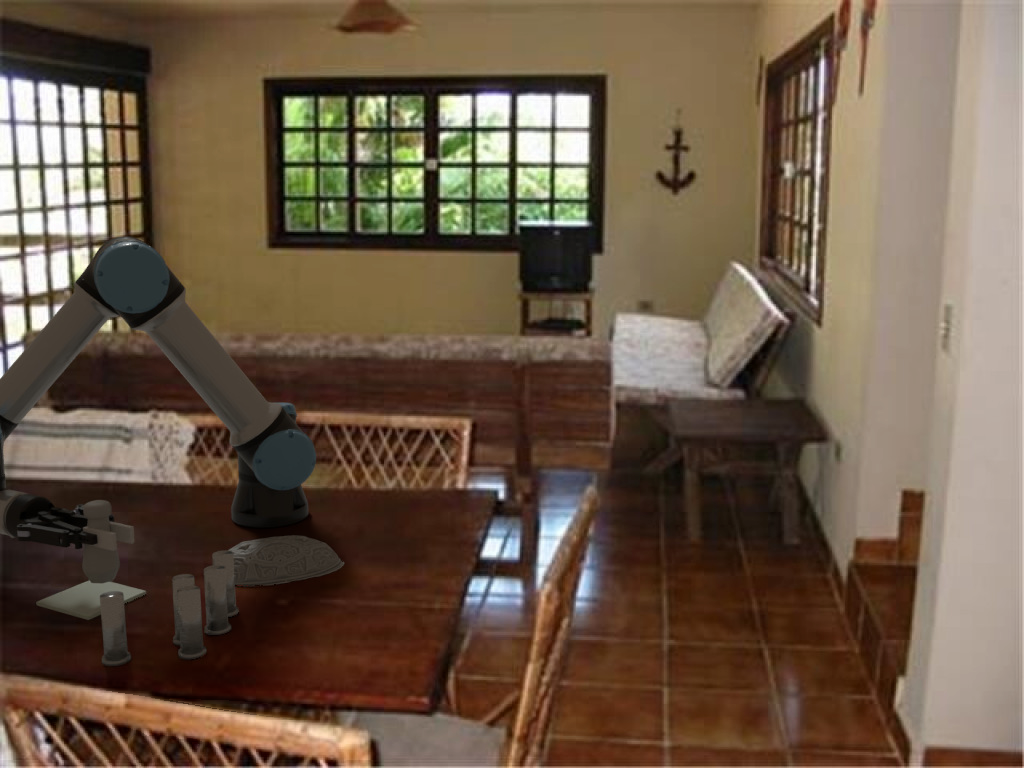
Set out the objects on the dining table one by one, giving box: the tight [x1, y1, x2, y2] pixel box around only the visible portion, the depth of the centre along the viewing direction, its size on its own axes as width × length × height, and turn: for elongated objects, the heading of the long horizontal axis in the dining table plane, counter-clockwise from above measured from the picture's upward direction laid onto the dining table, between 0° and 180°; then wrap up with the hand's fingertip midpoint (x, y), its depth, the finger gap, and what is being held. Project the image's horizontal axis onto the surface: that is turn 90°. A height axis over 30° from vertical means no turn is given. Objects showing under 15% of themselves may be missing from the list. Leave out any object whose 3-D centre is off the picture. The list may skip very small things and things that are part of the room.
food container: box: [227, 534, 345, 587], centre depth 201 cm, size 16×25×7 cm, turn 111°
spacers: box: [100, 549, 240, 667], centre depth 172 cm, size 21×17×10 cm
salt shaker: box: [81, 499, 121, 584], centre depth 184 cm, size 6×6×13 cm
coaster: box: [35, 579, 147, 621], centre depth 188 cm, size 12×12×1 cm
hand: (123, 538), depth 181 cm, fingers closed on salt shaker, 3 cm apart
